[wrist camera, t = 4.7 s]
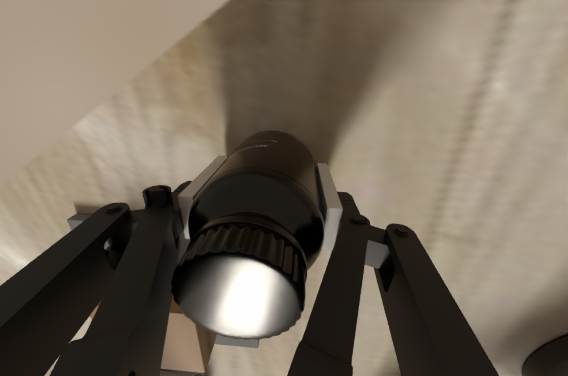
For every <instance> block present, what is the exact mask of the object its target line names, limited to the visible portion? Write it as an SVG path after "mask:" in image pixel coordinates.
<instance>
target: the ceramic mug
mask: <svg viewBox="0 0 568 376" xmlns="http://www.w3.org/2000/svg"><path fill="white" fill-rule="evenodd" d="M160 376H205V375H204V373H199V372H189V371H179V370H161V371H160Z"/></svg>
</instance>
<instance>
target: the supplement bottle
mask: <svg viewBox="0 0 568 376" xmlns="http://www.w3.org/2000/svg"><path fill="white" fill-rule="evenodd" d="M188 231H189V237H190V243H189V245H188V247H187V250H186V252H185V254H184V255H183V257H182V258H181V260H180V262H179V263H178V265H177V266H176V268H175V270H174V272H173V278H172V280H171V286H172V289H171V293H172V295H173V296H174V298H173V300H174V301H175V303H176V304H177V305H178V309H179V310H181V311H182V312H183V313H184V315H185V316H186V317H187V318H189V319H191V321H192V322H193V323H195V324H197V325H199V326H200V327H202V328H203V329H205V330H209V331H210V332H212V333H214V334H219V335H221V336H224V337H231V338H234V339H244V340H251V339H255V340H259V339H262V338H270V337H272V336H277V335H280V334H281V333H282V332H285V331H288V330H289V328H290V327H292V326H294V325H295V324H296V321H297V320H299V319H300V318H301V313H302V312H303V310H304V306H305V282H306V278H307V271H308V270H309V269H310V268H311V266H312V265H313V264H314V263H315V261H316V259H317V258H318V256H319V254H320V252H321V250H322V246H323V242H324V235H325V230H324V218H323V212H322V205H321V199H320V193H319V186H318V180H317V173H316V168H315V163H314V160H313V158H312V155H311V153H310V152H309V150H308V149H307V148H306V146H305V145H304V144H303V143H302V142H301V141H299V140H298V139H296V138H295V137H293V136H291V135H289V134H286V133H283V132H278V131H266V132H261V133H258V134H255V135H253V136H251V137H249V138H248V139H246V140H245V141H244V142H243V143H242V144H241V145H240V146H239V147H238V148H237V149H236V150H235V151H234V152H233V153H232V155H231V156H230V157H229V158H228V159H227V160H226V161H225V163H224V164H223V165H222V166H221V167H220V168H219V169H218V171H217V172H216V173H215V174H214V175H213V176H212V177H211V179H210V180H209V181H208V182H207V183H206V184H205V185H204V187H203V188H202V189H201V190H200V192H199V193H198V194H197V196H196V197H195V199H194V201H193V203H192V206H191V208H190V212H189V217H188Z"/></svg>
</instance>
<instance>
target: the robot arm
mask: <svg viewBox="0 0 568 376" xmlns="http://www.w3.org/2000/svg"><path fill="white" fill-rule="evenodd" d="M228 158H229V156H218V157H217V158H216V159H215V160H214V161H213V162H212V163H211V164H210V165H209V166H208V167H207V168H206V169H205V170H204V171H203V172H202V173H201V174H200V175H199V176H198V177H197V178H195V179H194V180H193V181H187V182H185V183H183V184H181V185H180V186H179V187H178V188H177V189H175V190H174V192H171V188H170V187H169V186H165V185H158V186H152V187H149V188H147V189H145V190H144V191H143V192H142V193H143V197H144V201H145V205H146V207H145V209H142V210H132V211H130V208H129V205H128V204H126V203H113V204H112V203H111V204H108V205H106V206H104V207H102V208H100V209H99V210H97V211H96V212H95V213H94V214H92V215H91V216H90V217H88V218H87V219H86V220H85V221H83V222H82V223H81V224H79V225H78V226H77V227H76V228H74V229H73V230H72V231H70V232H69V233H68V234H67V235H65V236H64V237H63V238H61V239H60V240H59V241H57V242H56V243H55V244H54V245H52V246H51V247H50V248H48V249H47V250H46V251H45V252H43V253H42V254H41V255H39V256H38V257H37V258H36V259H34V260H33V261H32V262H30V263H29V264H28V265H27V266H25V267H24V268H23V269H21V270H20V271H19V272H17V273H16V274H15V275H14V276H12V277H11V278H10V279H8V280H7V281H6V282H5V283H3V284H2V285H1V286H0V376H44V375H45V374H46V373H47V371H48V370H49V369H50V367H51V366H52V365H53V363H54V362H55V361H56V360H57V358H58V357H59V356H60V357H59V359H58V360H57V362H56V364H55V366H54V369H53V370H52V372H51V374H50V376H160V369H161V363H162V356H163V350H164V344H165V338H166V332H167V326H168V320H169V313H170V307H171V301H172V293H171V289H172V286H171V280H172V278H173V272H174V270H175V268H176V266H177V264H178V258H179V252H180V246H181V239H180V235H181V233H182V232H183V231H184V234H185V239H190V237H189V231H188V217H189V212H190V208H191V206H192V203H193V201H194V199H195V197H196V196H197V194H198V193H199V192H200V190H201V189H202V188H203V187H204V185H205V184H206V183H207V182H208V181H209V180H210V179H211V177H212V176H213V175H214V174H215V173H216V172H217V171H218V169H219V168H220V167H221V166H222V165H223V164H224V163H225V161H226V160H227V159H228ZM316 173H317V180H318V186H319V193H320V199H321V205H322V212H323V218H324V230H325V235H324V242H323V246H322V250H330V251H332V253H331V256H330V259H329V262H328V265H327V268H326V271H325V274H324V277H323V280H322V283H321V285H320V288H319V291H318V294H317V297H316V300H315V303H314V306H313V309H312V312H311V315H310V318H309V321H308V324H307V327H306V330H305V333H304V335H303V338H302V340H301V341H300V342H299V344H298V347H297V349H296V352H295V355H294V358H293V361H292V363H291V366H290V369H289V372H288V375H287V376H352V374H353V367H352V365H351V364H352V354H353V347H354V339H355V332H356V324H357V317H358V309H359V302H360V295H361V287H362V280H363V272H364V265H368V266H371V267H374V271H375V275H376V279H377V282H378V286H379V290H380V294H381V298H382V302H383V306H384V310H385V314H386V317H387V321H388V325H389V329H390V333H391V337H392V341H393V345H394V348H395V352H396V356H397V360H398V364H399V368H400V372H401V376H499V375H498V373H497V372H496V370H495V368H494V366H493V365H492V363H491V361H490V360H489V358H488V356H487V355H486V353H485V351H484V349H483V348H482V346H481V344H480V343H479V341H478V339H477V337H476V336H475V334H474V332H473V331H472V329H471V327H470V326H469V324H468V322H467V320H466V319H465V317H464V315H463V314H462V312H461V310H460V309H459V307H458V305H457V303H456V302H455V300H454V298H453V297H452V295H451V293H450V291H449V290H448V288H447V286H446V285H445V283H444V281H443V280H442V278H441V276H440V274H439V273H438V271H437V269H436V268H435V266H434V264H433V263H432V261H431V259H430V257H429V256H428V254H427V252H426V251H425V249H424V247H423V245H422V244H421V242H420V240H419V239H418V237H417V235H416V234H415V232H414V231H413V230H411V229H410V228H408V227H407V226H404V225H400V224H389V225H388V226H387V227H386V230H384V229H380V228H377V227H374V226H371V225H370V221H369V220H368V219H367V218H366V217H364V216H363V215H360V213H359V210H358V208H357V206H356V204H355V202H354V199H353V197H352V196H351V195H350V194H348V193H347V192H337V191H336V188H335V185H334V182H333V179H332V176H331V173H330V170H329V167H328V164H327V163H317V169H316ZM106 241H107V242H108V245H109V246H108V247H107V248H106V249H104V246H105V243H106ZM100 301H101V302H100ZM99 303H100V304H99ZM98 304H99V307H98V309H97V311H96V313H95V315H94V317H93V319H92V321H91V324H90V326H89V328H88V330H87V332H86V334H85V335H84V337H83V338H82V339H78V340H74V341H71V340H72V338H73V337H74V336H75V334H76V333H77V332H78V330H79V329H80V328H81V326H82V325H83V324H84V323H85V321H86V320H87V319H88V317H89V316H90V315H91V313H92V312H93V311H94V309H95V308H96V307H97V305H98ZM70 341H71V342H70ZM69 342H70V343H69ZM60 354H61V355H60ZM522 376H568V336H566V337H563V338H561V339H558V340H556V341H554V342H552V343H550V344H548V345H546V346H544V347H543V348H541V349H540V350H538V351H537V352H535V353H534V354H533V355H532V356H531V357H530V358H529V359H528V360H527V361H526V363H525V364H524V366H523V369H522Z"/></svg>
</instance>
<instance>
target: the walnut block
mask: <svg viewBox="0 0 568 376" xmlns="http://www.w3.org/2000/svg"><path fill="white" fill-rule="evenodd" d="M177 265H178V264H177ZM173 298H174V296H173V295H172V301H171V307H170V313H169V320H168V326H167V332H166V338H165V344H164V350H163V356H162V363H161V369H169V370H179V371H189V372H199V373H205V371H206V368H207V365H208V361H209V358H210V355H211V352H212V349H213V346H214V342H215V339H216V336H217V334H214V333H212V332H210V331H209V330H205V329H203V328H202V327H200V326H199V325H197V324H195V323H193V322H192V321H191V319H189V318H187V317H186V316H185V315H184V313H183V312H182V311H181V310H179V309H178V305H177V304H176V303H175V301H174V300H173ZM100 302H101V301H100ZM99 304H100V303H99ZM99 304H98V305H97V307H96V308H95V309H94V311H93V312H92V313H91V315H90V317H91V319H93V317H94V315H95V313H96V311H97V309H98V307H99Z"/></svg>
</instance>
